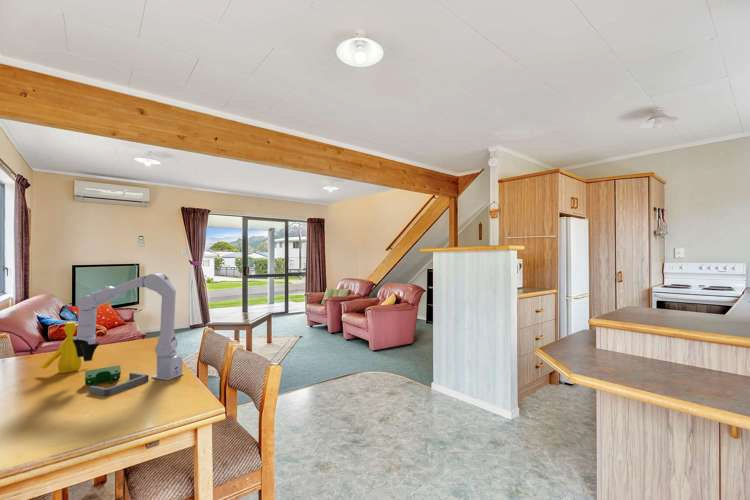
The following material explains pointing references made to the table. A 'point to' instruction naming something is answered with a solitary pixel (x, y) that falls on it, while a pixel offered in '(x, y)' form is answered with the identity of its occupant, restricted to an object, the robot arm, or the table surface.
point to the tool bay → (120, 385)
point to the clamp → (102, 375)
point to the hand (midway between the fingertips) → (84, 358)
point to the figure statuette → (67, 352)
